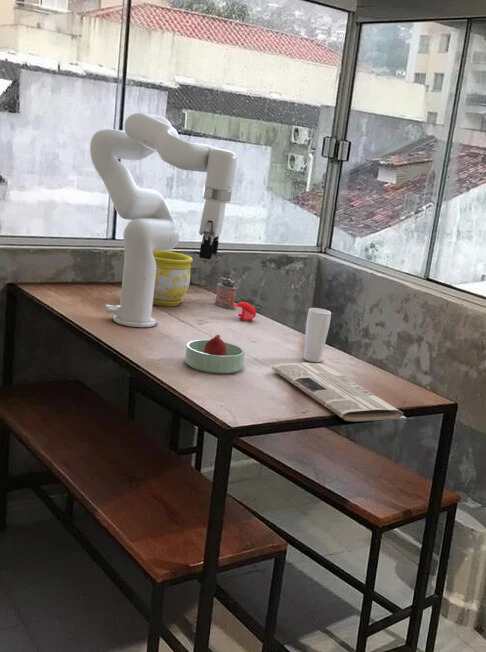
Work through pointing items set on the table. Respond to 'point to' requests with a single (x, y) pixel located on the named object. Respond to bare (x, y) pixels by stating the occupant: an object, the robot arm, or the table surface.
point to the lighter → (225, 293)
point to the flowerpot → (171, 277)
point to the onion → (216, 346)
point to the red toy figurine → (246, 311)
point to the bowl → (214, 358)
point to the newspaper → (337, 392)
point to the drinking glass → (316, 333)
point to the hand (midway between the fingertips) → (208, 255)
